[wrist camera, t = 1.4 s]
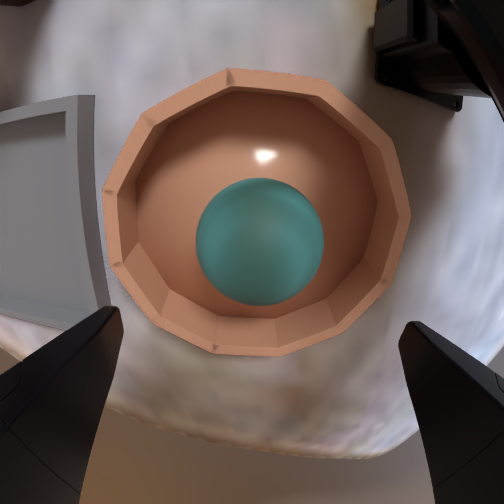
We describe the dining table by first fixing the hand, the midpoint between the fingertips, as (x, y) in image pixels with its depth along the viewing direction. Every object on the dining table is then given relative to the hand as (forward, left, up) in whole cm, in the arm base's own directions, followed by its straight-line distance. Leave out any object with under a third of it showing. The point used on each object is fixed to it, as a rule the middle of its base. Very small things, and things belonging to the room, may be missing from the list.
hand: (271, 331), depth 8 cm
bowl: (0, 0, -10) cm, 10 cm away
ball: (0, 0, -6) cm, 6 cm away
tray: (+18, +1, -10) cm, 21 cm away
